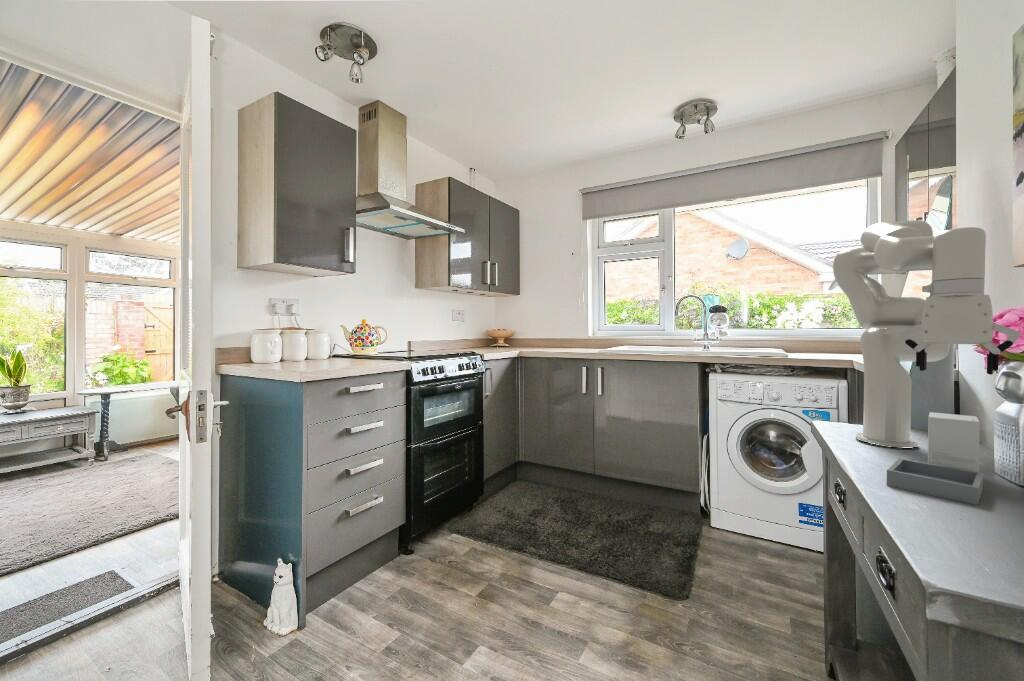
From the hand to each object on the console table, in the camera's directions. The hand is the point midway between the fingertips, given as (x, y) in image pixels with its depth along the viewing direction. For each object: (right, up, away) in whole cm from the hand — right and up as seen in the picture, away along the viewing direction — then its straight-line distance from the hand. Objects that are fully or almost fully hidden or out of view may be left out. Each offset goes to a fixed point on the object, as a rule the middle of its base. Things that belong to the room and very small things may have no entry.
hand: (955, 372), depth 88 cm
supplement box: (0, -22, +1) cm, 22 cm away
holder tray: (-10, -22, -6) cm, 25 cm away
